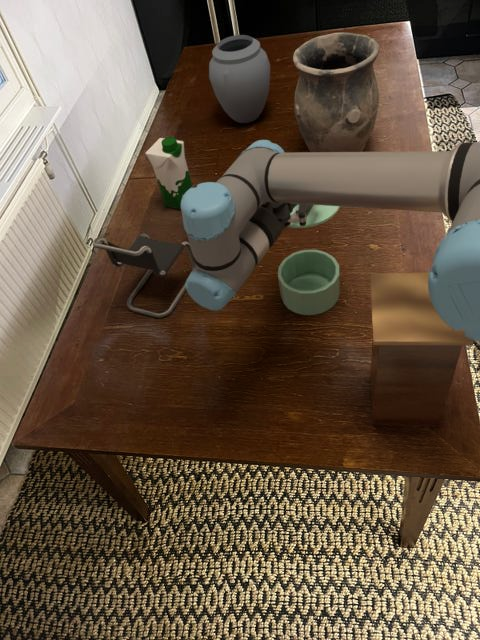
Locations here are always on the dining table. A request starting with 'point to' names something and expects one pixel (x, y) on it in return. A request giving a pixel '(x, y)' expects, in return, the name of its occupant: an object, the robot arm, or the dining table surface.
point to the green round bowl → (309, 282)
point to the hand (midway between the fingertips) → (314, 159)
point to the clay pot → (336, 92)
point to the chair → (146, 262)
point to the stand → (410, 352)
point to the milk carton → (170, 170)
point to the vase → (240, 77)
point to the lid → (316, 215)
